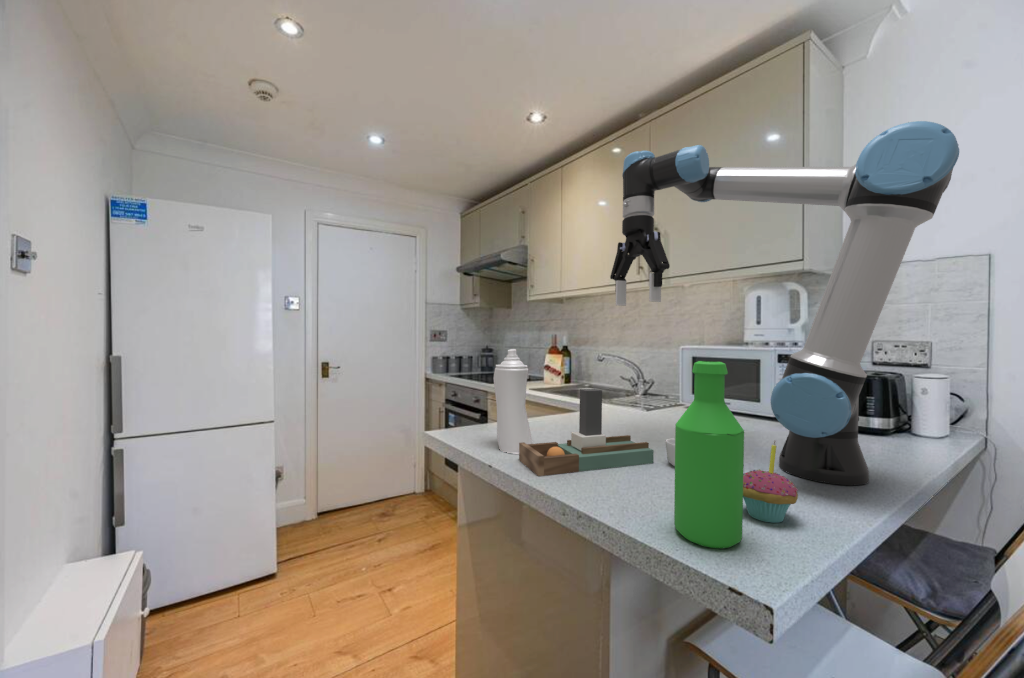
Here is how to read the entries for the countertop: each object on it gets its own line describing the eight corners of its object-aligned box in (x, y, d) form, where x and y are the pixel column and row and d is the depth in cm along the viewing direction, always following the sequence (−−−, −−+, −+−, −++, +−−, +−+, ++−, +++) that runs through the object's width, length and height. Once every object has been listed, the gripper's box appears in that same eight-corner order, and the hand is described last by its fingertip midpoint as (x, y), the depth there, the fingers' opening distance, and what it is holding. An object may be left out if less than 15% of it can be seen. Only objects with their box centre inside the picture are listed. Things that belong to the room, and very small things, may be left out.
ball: (552, 469, 88) (569, 465, 89) (550, 451, 88) (566, 447, 89) (545, 464, 92) (561, 459, 93) (542, 446, 92) (558, 442, 93)
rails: (648, 447, 94) (648, 442, 94) (583, 454, 88) (583, 448, 88) (628, 439, 101) (628, 435, 101) (566, 445, 96) (567, 440, 96)
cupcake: (756, 502, 71) (757, 433, 71) (810, 522, 63) (811, 445, 63) (724, 511, 67) (724, 438, 67) (777, 534, 60) (778, 451, 59)
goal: (578, 471, 86) (579, 452, 86) (538, 476, 83) (538, 456, 83) (555, 456, 97) (555, 439, 97) (519, 460, 94) (519, 442, 93)
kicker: (605, 448, 92) (606, 390, 92) (581, 451, 90) (582, 391, 90) (594, 443, 96) (594, 388, 96) (571, 445, 94) (571, 388, 94)
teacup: (665, 469, 88) (666, 444, 88) (664, 459, 95) (664, 436, 95) (717, 475, 85) (717, 449, 85) (711, 464, 92) (712, 440, 92)
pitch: (653, 463, 92) (653, 449, 92) (578, 471, 86) (578, 457, 86) (624, 450, 103) (624, 438, 103) (555, 456, 96) (555, 444, 96)
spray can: (482, 450, 101) (484, 349, 101) (500, 440, 111) (501, 348, 111) (526, 456, 97) (528, 350, 97) (541, 445, 107) (542, 349, 107)
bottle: (750, 537, 59) (753, 362, 58) (729, 559, 52) (732, 364, 52) (688, 517, 65) (690, 359, 65) (663, 535, 59) (665, 361, 59)
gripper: (598, 228, 112) (597, 306, 112) (659, 200, 89) (658, 298, 89) (621, 231, 115) (620, 307, 115) (687, 204, 91) (685, 300, 91)
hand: (636, 303), depth 102 cm, fingers open, 13 cm apart
